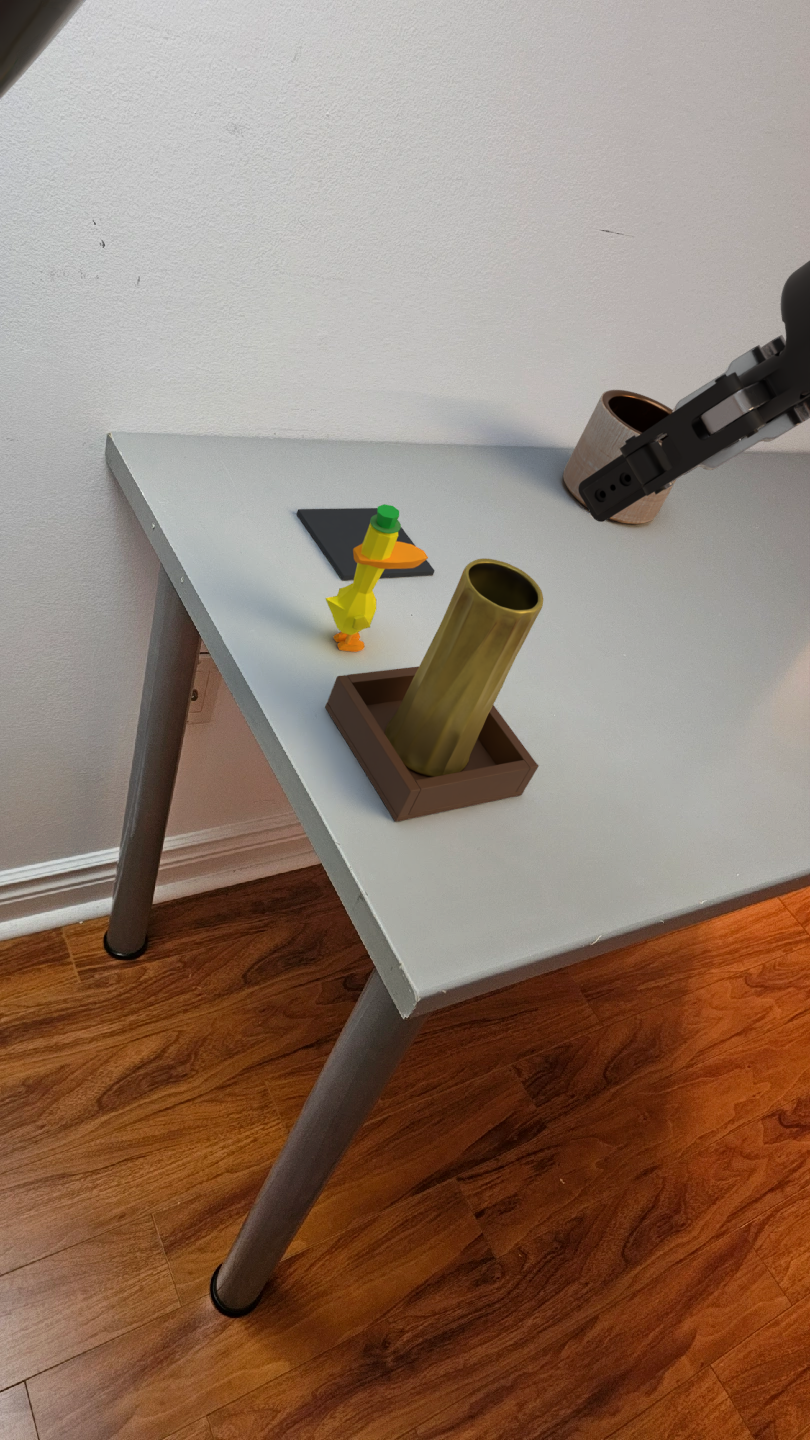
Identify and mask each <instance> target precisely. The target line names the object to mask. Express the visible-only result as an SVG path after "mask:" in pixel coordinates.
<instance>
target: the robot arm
mask: <svg viewBox="0 0 810 1440" xmlns="http://www.w3.org/2000/svg"><path fill="white" fill-rule="evenodd" d="M86 1H87V0H0V100H2V99H3V97H5V95H7V93H8V92H9V91H10V90H11V89H12V87H13V86H14V85H15V84H16V83H17V82H18V81H19V80H20V79H21V77H23V76H24V74H25V73H26V72H27V71H28V70H29V68H30V67H32V65H33V64H34V63H35V61H36V60H37V59H38V58H39V57H40V56H41V55H42V54H43V53H44V52H45V50H46V49H47V48H48V47H49V46H50V44H51V43H52V42H53V41H54V40H55V38H56V37H57V36H58V35H59V34H60V33H61V32H62V30H63V29H64V28H65V26H66V25H67V24H68V23H69V22H70V21H71V19H72V18H73V17H74V16H75V14H76V13H77V12H78V11H79V10H80V8H81V7H82V6H83V5H84V3H85V2H86ZM780 315H781V321H782V322H783V323H784V329H785V336H783V334H780V335H779V336H777V337H774V338H773V339H772V340H770V341H769V342H767V343H765V344H764V345H763V346H761V345H760V344H758V345H756V346H754V347H752V348H750V349H749V350H747V351H746V352H744V353H743V354H740V356H738V357H736V358H735V359H733V360H732V361H731V362H729V364H728V366H727V367H726V368H725V370H724V372H723V373H721V374H720V375H718V376H716V377H715V378H713V379H711V380H709V382H707V383H705V384H703V385H702V386H700V387H699V388H697V389H696V390H694V391H692V392H691V393H689V394H688V395H686V396H683V398H681V399H679V400H678V401H677V403H676V404H675V405H674V407H673V408H672V410H673V411H672V413H671V414H670V415H668V416H667V417H665V418H664V419H662V420H661V421H659V422H658V423H656V424H655V425H653V426H652V427H650V428H649V429H647V430H646V431H644V432H643V433H641V434H640V435H639V436H637V437H636V436H635V435H634V436H632V437H631V438H629V439H628V440H626V441H625V443H626V444H625V445H624V446H622V447H621V448H620V451H621V452H622V455H620V456H619V457H617V458H616V459H614V460H613V461H611V462H610V463H608V464H607V465H605V466H604V467H603V468H601V469H600V470H598V471H597V472H595V473H594V474H592V475H591V476H589V477H588V478H586V479H585V480H583V481H582V482H581V483H580V484H579V488H578V490H579V494H580V496H581V498H582V499H583V501H584V503H585V504H586V506H587V507H586V508H587V509H588V512H589V513H590V515H591V516H592V518H593V519H594V520H595V521H596V522H599V523H603V522H605V521H607V520H610V519H609V518H611V517H612V516H614V515H616V514H617V513H619V512H620V511H622V510H624V509H625V508H627V507H628V506H630V505H632V504H633V503H635V502H636V501H638V500H640V499H641V498H643V497H645V496H646V495H647V496H648V495H650V494H652V493H653V492H655V494H658V493H660V492H661V491H663V490H666V489H667V488H669V487H671V486H672V485H673V486H674V485H675V483H674V484H673V481H674V480H676V479H679V478H681V477H682V476H683V477H684V476H685V475H687V474H688V473H691V472H693V471H694V470H696V469H697V468H701V469H703V470H706V471H713V470H715V469H717V468H719V467H720V466H722V465H723V464H725V463H727V462H728V461H730V460H732V459H733V458H734V459H735V457H737V456H739V455H741V454H742V453H744V452H746V451H747V450H749V449H750V448H752V447H754V446H755V445H756V444H759V443H760V442H761V443H762V442H764V443H765V442H766V443H769V442H770V443H771V442H773V441H774V440H776V439H777V438H779V437H781V436H783V435H785V434H786V433H787V432H789V431H791V430H793V429H794V428H796V427H798V426H799V425H801V424H803V423H804V422H805V421H807V420H809V419H810V260H808V261H807V262H806V263H804V264H802V265H801V266H800V267H798V268H797V269H795V270H794V271H793V272H792V273H791V274H790V275H789V276H788V278H786V280H785V283H784V284H783V287H782V292H781V296H780ZM784 337H785V338H784ZM666 435H668V437H667V438H665V439H664V440H663V441H662V444H661V445H660V444H659V442H658V440H660V439H661V438H663V437H665V436H666ZM676 481H677V480H676Z"/></svg>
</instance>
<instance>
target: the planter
mask: <svg viewBox="0 0 810 1440" xmlns="http://www.w3.org/2000/svg"><path fill="white" fill-rule="evenodd" d="M672 411H673V408H670V407H669V406H668V405H665V404H664V403H662V402H660V401H657V400H656V399H653V398H652V397H649V396H646V395H644V394H641V393H638V392H635V391H629V390H625V389H610V390H606V391H604V392H603V393H602V394H601V395H600V397H599V400H598V401H597V403H596V405H595V407H594V409H593V411H592V413H591V416H590V418H589V419H588V422H587V423H586V425H585V427H584V429H583V432H581V433H582V434H581V435H580V437H579V439H578V441H577V443H576V445H575V446H574V449H573V451H572V453H571V454H570V457H569V459H568V461H567V462H566V465H565V467H564V470H563V473H562V478H563V481H564V484H565V486H566V488H567V490H569V492H570V494H571V495H572V496H573V498H575V499H576V500H577V501H578V502H579V503H580V504H581V505H582V506H584V507H585V508H587V506H586V504H585V503H584V501H583V499H582V498H581V496H580V494H579V490H578V488H579V484H580V483H581V482H582V481H583V480H585V479H586V478H588V477H589V476H591V475H592V474H594V473H595V472H597V471H598V470H600V469H601V468H603V467H604V466H605V465H607V464H608V463H610V462H611V461H613V460H614V459H616V458H617V457H619V456H620V455H622V452H621V451H620V448H621V447H622V446H624V445H625V444H626V443H625V441H626V440H628V439H629V438H631V437H632V436H634V435H635V436H636V437H637V436H639V435H640V434H641V433H643V432H644V431H646V430H647V429H649V428H650V427H652V426H653V425H655V424H656V423H658V422H659V421H661V420H662V419H664V418H665V417H667V416H668V415H670V414H671V413H672ZM667 437H668V435H666V436H665V437H663V438H661V439H660V440H658V442H659V444H660V445H661V444H662V441H663V440H664V439H665V438H667ZM676 481H677V479H676V480H674V481H673V484H674V485H675V483H676ZM674 485H672V486H671V487H669V488H667V489H666V490H663V491H661V492H660V493H658V494H655V492H653V493H652V494H650V495H648V496H647V495H646V496H645V497H643V498H641V499H640V500H638V501H636V502H635V503H633V504H632V505H630V506H628V507H627V508H625V509H624V510H622V511H620V512H619V513H617V514H616V515H614V516H612V517H611V518H609V519H608V520H610V521H613V522H617V523H620V524H628V525H641V524H646V523H650V522H652V521H653V520H654V519H655V518H656V517H657V515H658V514H659V513H660V511H661V509H662V507H663V505H664V503H665V502H666V500H667V498H668V497H669V494H670V492H671V491H672V489H673V487H674Z"/></svg>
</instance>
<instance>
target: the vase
mask: <svg viewBox="0 0 810 1440" xmlns="http://www.w3.org/2000/svg"><path fill="white" fill-rule="evenodd" d="M543 605H544V595H543V591H542V588H540V586H539V584H538V583H537V582H536V580H535V579H534V578H533V577H532V576H530V575H529V574H528V573H526V572H525V571H524V570H522V569H521V568H519V567H517V566H514V565H512V564H511V563H508V562H506V561H500V560H498V559H493V558H476V559H474V560H473V561H471V562H469V563H468V564H467V565H465V567H464V568H463V570H462V573H461V576H460V578H459V580H458V583H457V585H456V587H455V589H454V592H453V594H452V597H451V599H450V601H449V603H448V606H447V608H446V610H445V613H444V616H443V618H442V620H441V621H440V624H439V626H438V628H437V630H436V632H435V634H434V636H433V639H432V640H431V642H430V644H429V646H428V648H427V650H426V652H425V654H424V656H423V659H422V660H421V662H420V664H419V668H418V670H417V672H416V674H415V676H414V678H413V680H412V682H411V684H410V686H409V688H408V690H407V692H406V694H405V696H404V698H403V701H402V703H401V705H400V707H399V708H398V710H397V712H396V714H395V715H394V716H393V717H392V719H391V720H390V721H389V723H388V724H387V727H386V730H385V735H386V737H387V738H388V740H389V741H390V743H391V745H392V746H393V748H394V749H395V751H396V752H397V754H398V755H399V757H400V759H401V760H402V762H403V763H404V765H405V766H406V767H408V768H409V769H411V770H413V771H415V772H417V773H420V774H423V775H426V776H431V777H436V776H441V775H447V774H452V773H457V772H460V771H462V770H463V769H464V768H465V766H466V765H467V763H468V762H469V757H470V754H471V752H472V749H473V747H474V745H475V743H476V741H477V738H478V736H479V734H480V732H481V729H482V727H483V725H484V723H485V720H486V718H487V716H488V714H489V712H490V710H491V708H492V706H493V705H495V703H496V699H497V698H498V696H499V694H500V692H501V690H502V688H503V686H504V683H505V682H506V680H507V677H508V674H509V672H510V671H511V668H512V667H513V665H514V663H515V660H516V658H517V656H518V655H519V652H520V651H521V649H522V647H523V645H524V643H525V641H526V640H527V637H528V635H529V634H530V631H531V629H532V627H533V625H534V624H535V622H536V619H537V618H538V616H539V614H540V613H541V611H542V609H543Z"/></svg>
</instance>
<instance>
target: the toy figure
mask: <svg viewBox="0 0 810 1440" xmlns="http://www.w3.org/2000/svg"><path fill="white" fill-rule="evenodd" d="M377 508H378V512H377V514H376V515H374V516H372V517H371V520H370V525H369V528H368V530H367V533H366V536H365V539H364V541H363V543H362V544H361V545H359V546H357V547H355V548H354V549H353V555H354V560H355V562H357V567H356V572H355V577H354V580H352V581H353V582H352V583H350V584H348V585H346V586H344V587H340V588H339V590H338V592H337V595H334V596H329V597H325V598H324V599H325V602H326V603H327V606H328V608H329V610H330V613H331V616H332V619H333V621H334V623H335V626H336V628H337V629H338V630H339V632H338V633H336V634H334V635H333V640H334V641H335V643H337V648H338V650H339V651H345V652H352V653H357V652H361V651H363V650H364V649H365V647H366V646H365V642H364V641H362V640H361V639H360V638H361V635H360V633H359V632H361V631H363V630H365V629H369V628H371V625H372V621H373V619H374V617H375V614H376V611H377V598H376V595H375V593H374V591H373V590H374V588H375V587H376V585H377V584H378V582H379V580H380V579H381V578H380V576H381V575H382V573H383V571H384V569H407V568H415V567H417V566H419V565H420V564H421V563H423V562H424V561H425V560H428V559H429V556H428V555H427V553H426V552H425V550H423V549H422V548H420V547H418V546H417V545H415V546H414V545H412V544H408V543H403V542H398V541H396V540H397V537H398V531H399V530H400V528H401V527H402V525H401V521H399V517H400V510H399V509H398V508H397V507H395V506H394V505H390V504H385V503H383V504H381V505H379V506H377Z"/></svg>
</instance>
